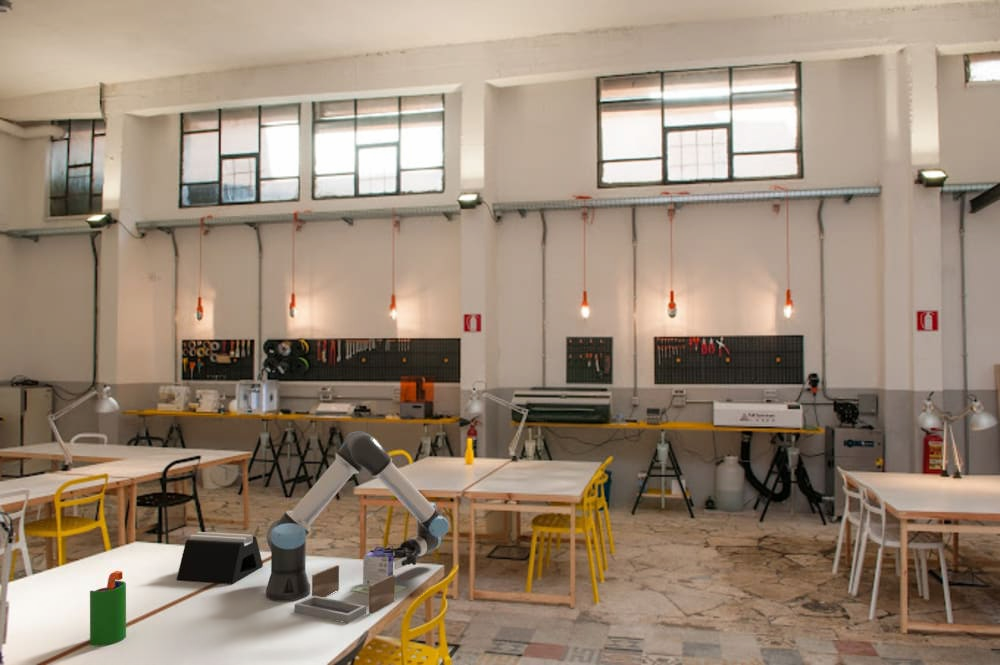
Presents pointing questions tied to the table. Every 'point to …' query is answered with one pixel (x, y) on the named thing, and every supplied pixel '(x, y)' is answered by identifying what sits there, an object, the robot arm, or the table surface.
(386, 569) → the ink cartridge box
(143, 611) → the table surface
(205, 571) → the device stand
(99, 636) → the green tool holder
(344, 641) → the table surface
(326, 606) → the pit trap
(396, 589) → the pad
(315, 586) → the tunnel walls
